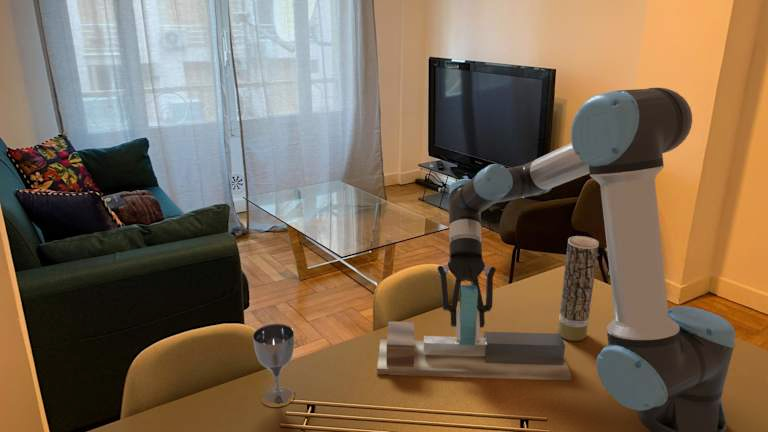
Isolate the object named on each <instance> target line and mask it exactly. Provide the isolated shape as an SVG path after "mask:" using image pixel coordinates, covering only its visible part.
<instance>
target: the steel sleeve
mask: <svg viewBox="0 0 768 432" xmlns="http://www.w3.org/2000/svg"><path fill="white" fill-rule="evenodd" d="M483 338H485V340H486V356H484V358H485V363H506V364H538V365H563V359H565V349H566V344H565V342H564V340H563V337H561V335H560V334H559V333H550V332H549V333H547V332H546V333H545V332H513V331H512V332H511V331H484V332H483Z"/></svg>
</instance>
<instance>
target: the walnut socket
mask: <svg viewBox="0 0 768 432" xmlns="http://www.w3.org/2000/svg"><path fill="white" fill-rule="evenodd" d="M387 324H388V325H387V335H386V339H387V366H395V367H414V340H415V322H414V321H388V323H387Z"/></svg>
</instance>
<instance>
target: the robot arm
mask: <svg viewBox="0 0 768 432" xmlns="http://www.w3.org/2000/svg"><path fill="white" fill-rule="evenodd" d="M692 124H693V113H692V109H691V106H690V104H689V103H688V101H687V100H686V99H685V98H684V96H682V95H681V94H679V92H677V91H674V90H672V89H669V88H664V87H648V88H638V89H637V88H635V89H619V90H611V91H608V92H604V93H599V94H596V95H593V96H592V97H590V98H589V99H587V100H586V101H584V103H582V105H581V106H580V107H579V110H578V111H577V112H576V113H575V115H574V117H573V120H572V124H571V128H570V140H571V141H570V143H568V144H566V145H564V146H561V147H559V148H556V149H555V150H553V151H550V152H549V153H547V154H544V155H543V156H540V157H538V158H536V159H534V160H532V161H530V162H528V163H525V164H522V165H518V166H513V167H505V166H504V165H500V164H497V163H493V164H489V165H487V166H486V167H484V168H482V169H481V170H480V171H478V172H477V173H476V174H475V176H473V177H472V179H468V178H464V179H463V178H462V179H459V180H456V181H453V182H452V183H451V184H450V186H449V188H448V189H449V190H448V191H449V192H448V196H447V201H448V224H449V226H448V228H449V229H448V232H449V233H448V235H449V237H448V238H449V239H448V240H449V260H448V262H447V264H446V265H444V266H443V265H439V266H438V267H437V270H436V271H437V272H436V273H437V274H438V276H439V279H440V289H441V290H440V291H441V306H442V310H443V311H447V312H449V313H450V326H451V327H452V328H455V337H456V343H460V311H459V310H458V309H457V306H458V303H459V298H460V285H462V284H461V283H462V282H465V281H467V282H470V285H476V286H477V291H478V300H477V316H476V332H475V343H479V342H480V338H481V328H482V329H483V328H484V326H485V323H486V322H485V313H487V312H491V310H492V308H493V295H494V293H493V289H494V285H493V284H494V275H495V273H496V267H494V266H491V267H489V266H488V265H486V263H485V262H484V260H483V246H482V245H483V243H482V222H481V221H482V220H481V219H482V218H481V217H482V216H481V214H482V212H484V211H486V210H487V209H489V207H491V206H492V205H494V204H497V203H503V202H507V201H508V202H509V201H513V200H517V199H518V200H519V199H520V198H521V199H523V198H528V197H533V196H540V195H543V194H546V193H548V192H550V191H551V190H552V188H555V187H558V186H560V185H563V184H565V183H568V182H571V181H573V180H575V179H578V178H581V177H583V176H587V175H588V174H589V177H591V178H592V179H593V180H594V181H595V182H597V183H598V184H599V185H600V196H601V204H602V205H601V206H602V213H603V214H602V215H603V221H604V222H603V223H604V231H605V240H606V251H607V258H608V259H607V260H608V269H609V277H610V285H611V286H610V288H611V289H610V290H611V296H612V297H611V298H612V305H613V314H614V315H613V316H614V318H613V319H612V320H611V322H609V324H608V325H607V327H606V333H607V342H608V345H607V346H605V347H603V348H602V350H600V352H599V354H598V355H597V357H596V363H595V365H596V372H597V375H598V378H599V380H600V382H601V383H602V386H603V387H604V388H605V390H606V391H607V392H608V393H609V394H610V396H611V397H612V398H614V400H615V401H616V402H618V403H619V404H621V405H623V407H625V408H628V409H631V410H634V411H637V414H638V417H639V419H640V421H641V422H642V423H643V424H644V426H646V428H648V429H649V430H650V431H651V432H725V431H726V428H727V421H726V415H725V410H724V404H723V398H722V396H723V392H724V389H725V385H726V380H727V375H728V372H729V371H728V370H729V368H730V363H731V360H732V355H733V351H734V348H735V345H736V344H735V341H736V330H735V328H734V326H733V325H732V324H731V323H730V322H729V321H728V320H727V319H725V318H724V317H721V316H720V315H719V314H716V313H714V312H712V311H711V312H710V311H707V310H705V309H702V308H697V307H693V306H688V305H687V306H685V305H676V306H675V305H674V306H670V307H668V298H667V297H668V296H667V288H666V278H665V270H664V269H665V267H664V260H663V259H664V258H663V249H662V248H663V247H662V238H661V229H660V219H659V208H658V207H659V206H658V198H657V197H658V196H657V188H656V178H657V176H658V175H659V174H660V172H661V171H662V170H663V169H664V168H665V167H664V166H665V165H664V154H665V153H668V152H671V151H673V150H675V149H676V148H678V147H679V146H680V145H681V144H683V142H685V140H686V139H687V137H688V136H689V134H690V132H691V129H692ZM449 272H450V273H451V274H452V276H453V277H454V278H455V282H454V287H453V293H452V294H453V295H452V300H451V303H449V295H448V294H449V293H448V281H447V275H448V274H449ZM482 272H484V276H485V277H486V282H485V304H484V300H483V297H482V292H481V289H480V288H481V287H480V284H479V283H480V282H479V276H480V275H481V274H482Z"/></svg>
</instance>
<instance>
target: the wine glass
mask: <svg viewBox="0 0 768 432" xmlns="http://www.w3.org/2000/svg"><path fill="white" fill-rule="evenodd" d="M252 339H253V346H254V351H255V356H256V357H257V360H258V362H259V363H260V365H261V366H263V367H264V368H265V369H266V370H269V371H270V373H271V374H272V376H273V378H274V379H273V380H274V383H275V385H274V387H275V388H273V387H271V388H272V389H271V390H268V389H267V390H268V391H267V392H266V393H265V395H264V396H265V397H264V399H266V400H267V401H268V402H270V403H271V402H272V403H273V402H274V403H277V404H280V403H284V402H287V401H288V398H290V397H291V395H292V392H291V391H290V389H289V388H290V387H289V388H284V387H285V386H284V387H279V386H280V374H281V372H282V370H283V369H284V368H285V367H286V366H287V365H288V364H289V362H290V361H291V359H292V358H293V354H294V351H295V350H294V347H295V332H294V330H293V328H292V327H291V326H289V325H287V324H283V323H270V324H267V325H263V326H260V327H258V328H257V329H256V330H255V331H254V332H253V336H252ZM290 399H291V398H290Z"/></svg>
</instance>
